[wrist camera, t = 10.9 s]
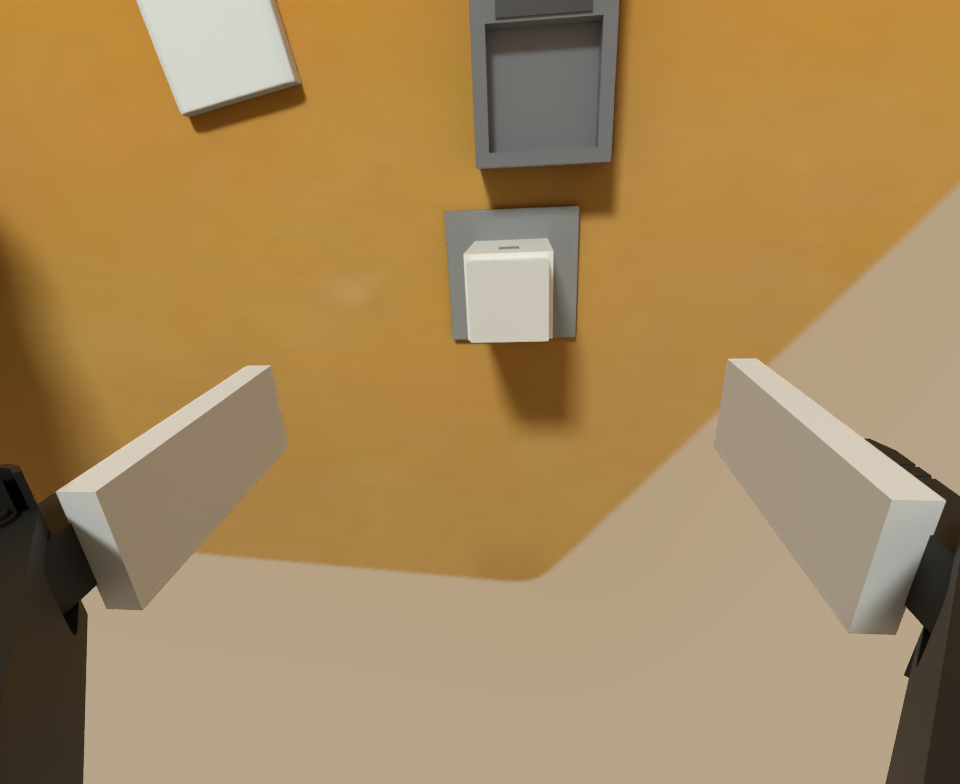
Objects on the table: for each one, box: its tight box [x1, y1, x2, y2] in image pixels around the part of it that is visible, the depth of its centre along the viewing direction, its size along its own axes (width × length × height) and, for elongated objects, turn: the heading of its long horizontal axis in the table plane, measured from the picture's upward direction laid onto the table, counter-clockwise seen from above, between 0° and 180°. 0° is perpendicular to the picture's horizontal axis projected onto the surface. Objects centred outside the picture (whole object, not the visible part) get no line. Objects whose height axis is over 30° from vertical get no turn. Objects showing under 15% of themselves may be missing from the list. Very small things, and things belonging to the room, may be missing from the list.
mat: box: [445, 206, 579, 340], centre depth 35 cm, size 9×9×1 cm
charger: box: [463, 238, 553, 343], centre depth 31 cm, size 5×5×8 cm
